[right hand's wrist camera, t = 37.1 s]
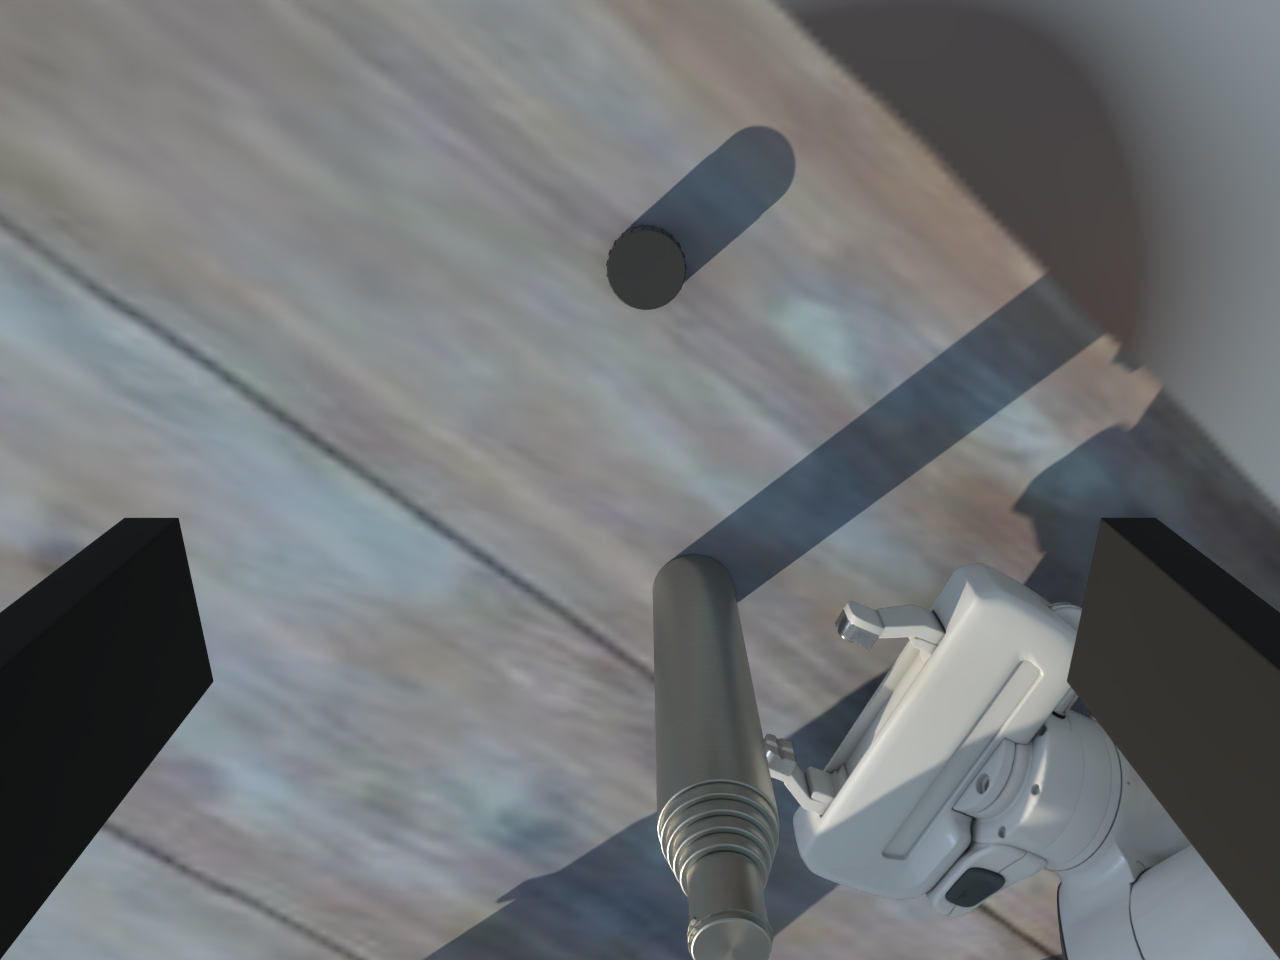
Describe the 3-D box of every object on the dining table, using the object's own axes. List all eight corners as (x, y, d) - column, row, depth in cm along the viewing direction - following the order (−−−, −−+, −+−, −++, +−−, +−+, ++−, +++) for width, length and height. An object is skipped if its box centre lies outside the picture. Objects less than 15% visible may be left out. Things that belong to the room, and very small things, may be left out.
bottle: (636, 584, 53) (631, 940, 30) (701, 539, 52) (748, 872, 29) (684, 639, 54) (715, 1020, 31) (749, 596, 53) (831, 958, 30)
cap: (656, 318, 47) (657, 326, 45) (592, 275, 46) (590, 282, 44) (699, 253, 46) (702, 258, 44) (634, 208, 45) (634, 212, 43)
